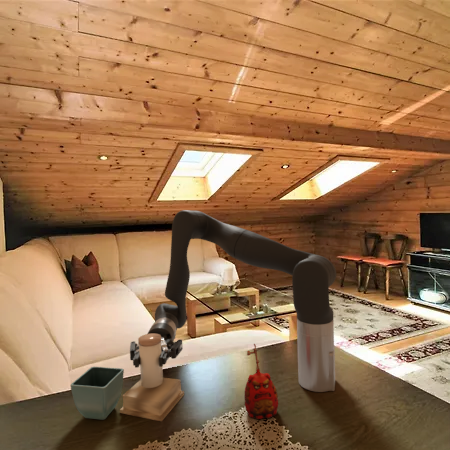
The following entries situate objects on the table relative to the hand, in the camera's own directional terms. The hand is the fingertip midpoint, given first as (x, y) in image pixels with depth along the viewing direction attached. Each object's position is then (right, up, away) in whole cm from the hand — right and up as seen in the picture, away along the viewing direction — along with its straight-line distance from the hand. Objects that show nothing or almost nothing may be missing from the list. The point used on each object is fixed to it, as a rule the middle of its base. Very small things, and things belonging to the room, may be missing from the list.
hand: (148, 363), depth 79 cm
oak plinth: (0, -11, +3) cm, 12 cm away
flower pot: (-11, -12, 0) cm, 16 cm away
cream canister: (0, -6, +3) cm, 7 cm away
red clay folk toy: (+26, -11, -2) cm, 28 cm away
